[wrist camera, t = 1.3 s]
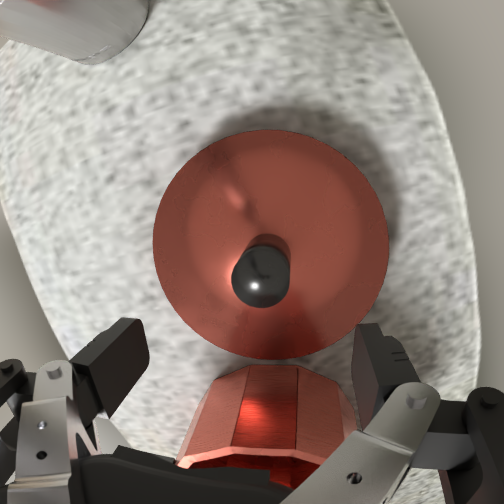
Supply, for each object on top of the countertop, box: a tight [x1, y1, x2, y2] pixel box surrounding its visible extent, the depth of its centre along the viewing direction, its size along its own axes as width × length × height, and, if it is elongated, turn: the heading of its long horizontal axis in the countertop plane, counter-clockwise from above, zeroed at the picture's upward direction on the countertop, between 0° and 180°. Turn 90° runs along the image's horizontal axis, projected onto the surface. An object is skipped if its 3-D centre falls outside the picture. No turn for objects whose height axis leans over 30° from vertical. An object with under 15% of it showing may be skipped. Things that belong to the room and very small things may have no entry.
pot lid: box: [153, 130, 389, 360], centre depth 21 cm, size 17×17×8 cm
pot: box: [153, 365, 357, 490], centre depth 24 cm, size 16×21×10 cm
